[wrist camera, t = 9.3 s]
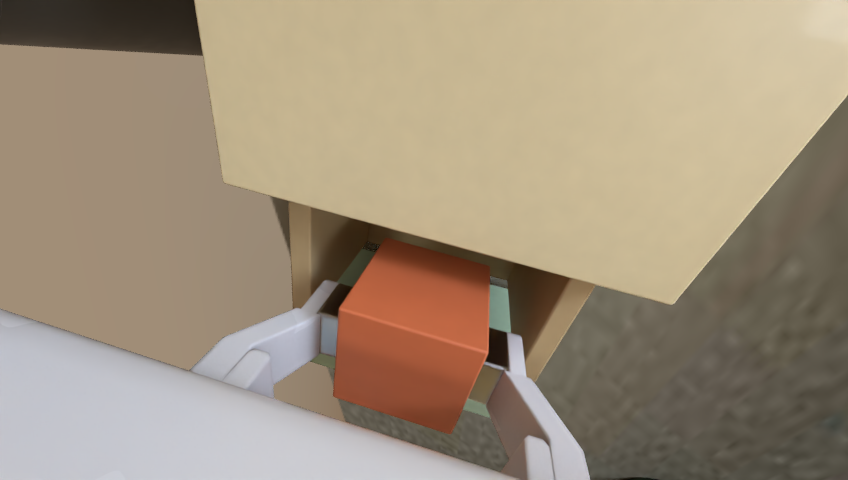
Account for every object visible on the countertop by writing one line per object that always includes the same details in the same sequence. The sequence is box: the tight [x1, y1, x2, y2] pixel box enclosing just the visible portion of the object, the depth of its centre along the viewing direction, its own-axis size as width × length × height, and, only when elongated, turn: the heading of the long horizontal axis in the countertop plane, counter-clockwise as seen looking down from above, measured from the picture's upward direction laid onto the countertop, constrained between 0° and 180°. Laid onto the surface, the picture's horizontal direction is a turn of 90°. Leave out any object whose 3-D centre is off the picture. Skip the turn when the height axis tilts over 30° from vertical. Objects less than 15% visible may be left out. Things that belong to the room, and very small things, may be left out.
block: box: [333, 238, 490, 434], centre depth 10 cm, size 4×4×4 cm
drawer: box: [288, 201, 596, 418], centre depth 14 cm, size 18×11×8 cm, turn 169°
